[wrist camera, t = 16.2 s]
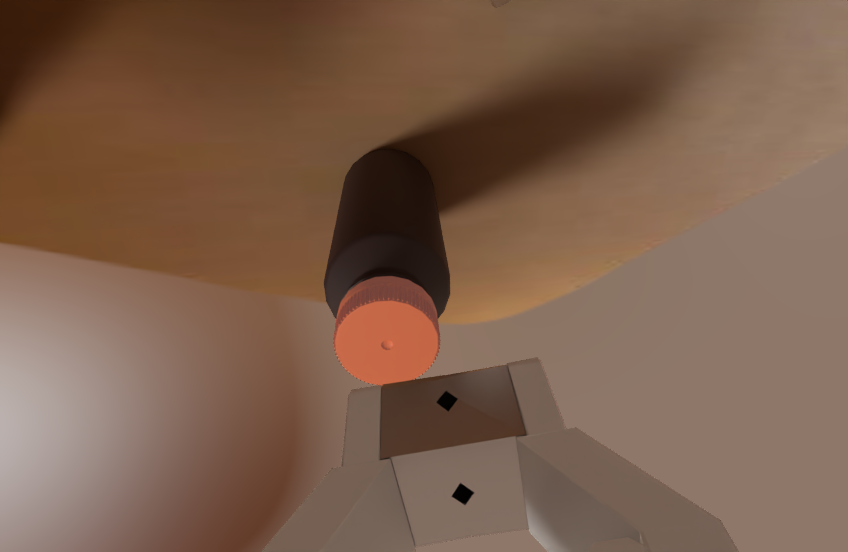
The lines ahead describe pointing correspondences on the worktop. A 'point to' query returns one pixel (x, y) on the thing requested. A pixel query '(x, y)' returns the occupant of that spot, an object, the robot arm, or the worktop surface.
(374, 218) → the vinegar
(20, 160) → the worktop surface
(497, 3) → the brown wooden shelf tower
